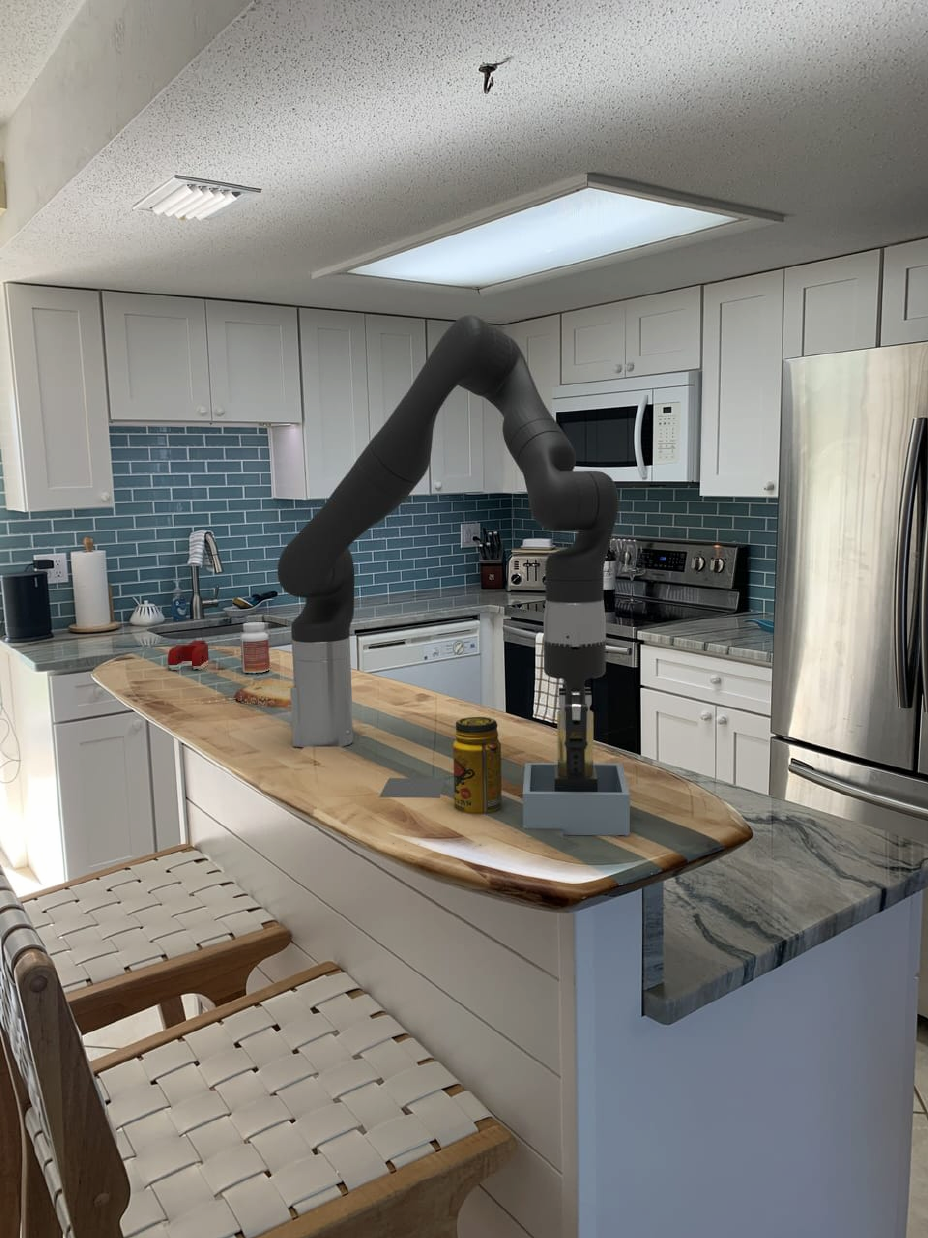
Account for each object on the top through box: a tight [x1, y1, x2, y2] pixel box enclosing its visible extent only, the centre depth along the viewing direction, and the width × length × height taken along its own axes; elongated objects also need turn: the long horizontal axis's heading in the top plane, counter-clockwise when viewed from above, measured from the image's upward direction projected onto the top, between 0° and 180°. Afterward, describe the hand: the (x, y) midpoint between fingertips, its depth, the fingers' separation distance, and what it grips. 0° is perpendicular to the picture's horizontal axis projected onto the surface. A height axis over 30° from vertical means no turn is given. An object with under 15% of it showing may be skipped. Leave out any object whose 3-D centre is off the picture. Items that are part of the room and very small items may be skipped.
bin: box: [522, 762, 631, 837], centre depth 121 cm, size 13×13×5 cm
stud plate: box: [378, 777, 447, 799], centre depth 132 cm, size 8×8×1 cm
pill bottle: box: [239, 621, 271, 673], centre depth 217 cm, size 6×6×11 cm
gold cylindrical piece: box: [554, 709, 598, 792], centre depth 121 cm, size 5×5×10 cm
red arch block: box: [167, 640, 210, 666], centre depth 228 cm, size 16×7×5 cm, turn 1°
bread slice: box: [233, 677, 294, 709], centre depth 190 cm, size 18×18×4 cm
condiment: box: [452, 716, 503, 815], centre depth 124 cm, size 7×8×12 cm
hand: (575, 771), depth 121 cm, fingers closed on gold cylindrical piece, 4 cm apart
